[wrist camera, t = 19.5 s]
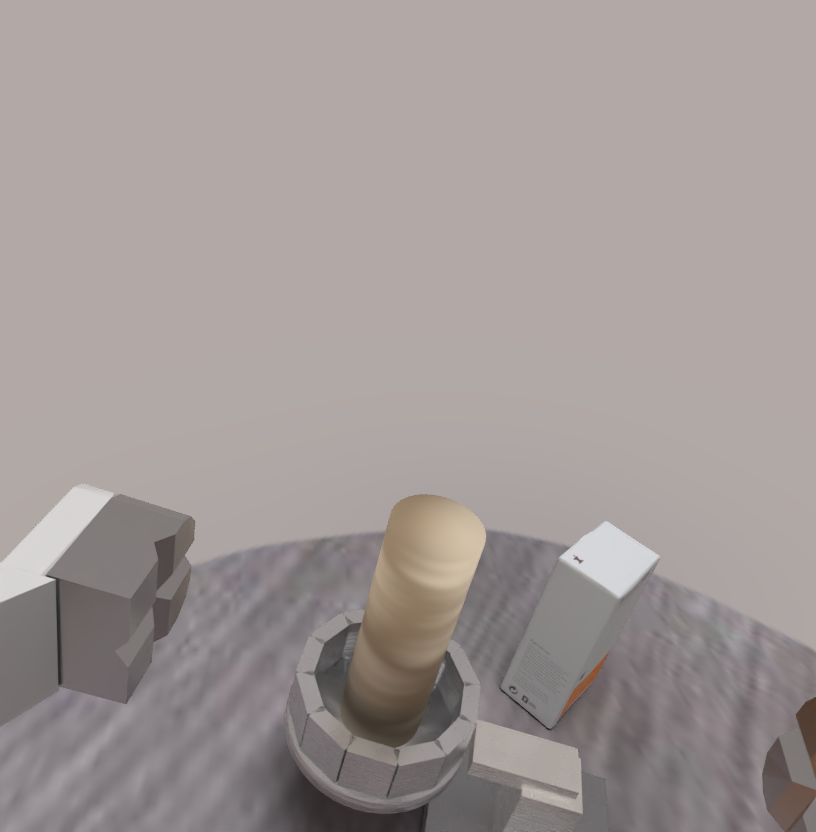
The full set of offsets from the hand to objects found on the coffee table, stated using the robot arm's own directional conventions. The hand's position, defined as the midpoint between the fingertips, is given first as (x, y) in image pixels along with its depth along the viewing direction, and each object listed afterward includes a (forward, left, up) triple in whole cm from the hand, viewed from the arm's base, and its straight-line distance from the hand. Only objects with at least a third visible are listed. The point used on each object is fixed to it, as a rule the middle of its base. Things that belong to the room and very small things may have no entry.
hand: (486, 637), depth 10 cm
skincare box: (-11, -29, -32) cm, 45 cm away
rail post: (0, -17, -24) cm, 29 cm away
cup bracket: (-5, -17, -32) cm, 37 cm away
